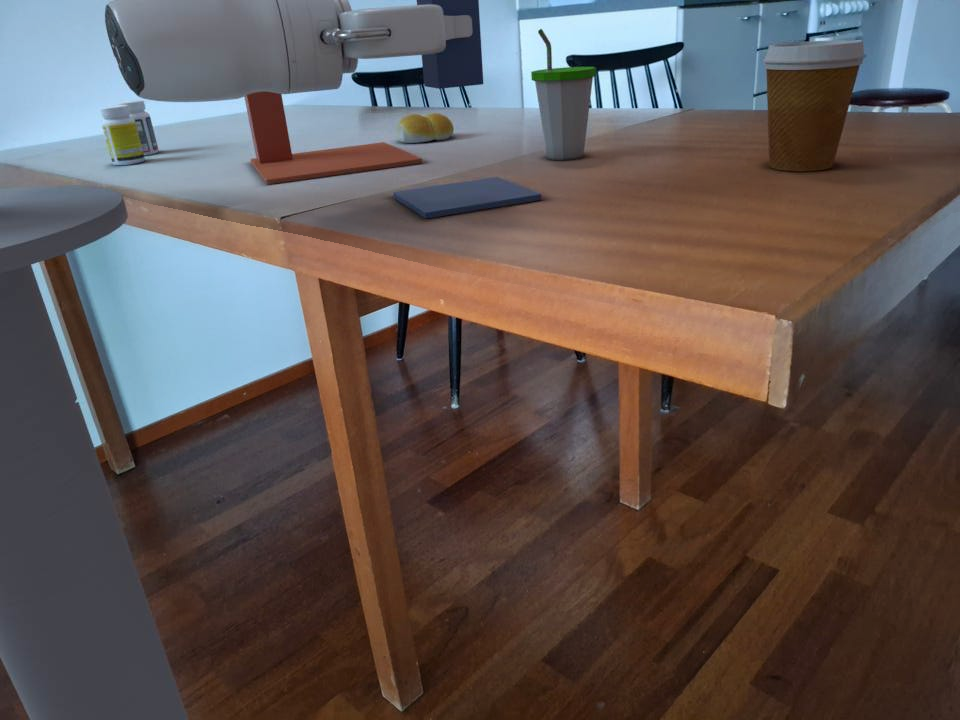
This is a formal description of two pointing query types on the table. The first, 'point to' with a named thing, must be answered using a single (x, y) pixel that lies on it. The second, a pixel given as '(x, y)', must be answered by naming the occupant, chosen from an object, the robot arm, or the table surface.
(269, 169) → the red mat
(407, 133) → the bread roll
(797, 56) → the disposable coffee cup
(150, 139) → the pill bottle
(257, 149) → the red block
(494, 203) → the blue mat
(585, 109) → the cup
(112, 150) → the supplement bottle
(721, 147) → the table surface
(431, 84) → the blue block
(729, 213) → the table surface
